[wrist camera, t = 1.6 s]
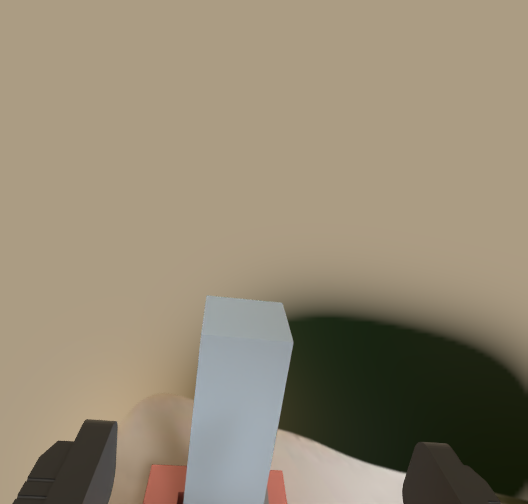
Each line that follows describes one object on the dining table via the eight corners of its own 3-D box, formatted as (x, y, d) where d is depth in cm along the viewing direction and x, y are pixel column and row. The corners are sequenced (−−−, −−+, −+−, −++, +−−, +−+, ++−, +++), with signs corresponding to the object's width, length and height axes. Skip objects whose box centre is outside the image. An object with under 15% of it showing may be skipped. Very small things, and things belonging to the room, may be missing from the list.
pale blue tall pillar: (179, 545, 30) (206, 295, 24) (241, 546, 30) (282, 302, 24) (171, 617, 25) (201, 334, 19) (242, 617, 26) (293, 342, 20)
